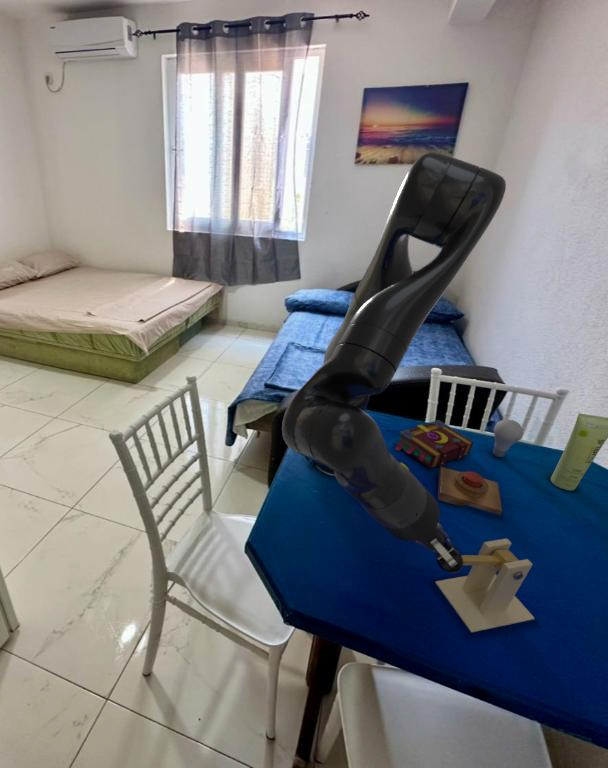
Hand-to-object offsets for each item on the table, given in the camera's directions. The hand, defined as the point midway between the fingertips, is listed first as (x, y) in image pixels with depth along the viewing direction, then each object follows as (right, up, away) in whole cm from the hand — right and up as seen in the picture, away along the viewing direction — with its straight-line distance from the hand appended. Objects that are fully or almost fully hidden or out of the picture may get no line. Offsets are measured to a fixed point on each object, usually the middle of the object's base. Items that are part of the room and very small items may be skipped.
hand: (449, 552), depth 60 cm
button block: (+22, 0, +33) cm, 40 cm away
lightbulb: (+38, +6, +46) cm, 60 cm away
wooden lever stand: (+11, -13, +9) cm, 19 cm away
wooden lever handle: (+5, -4, +3) cm, 7 cm away
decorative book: (+21, +7, +47) cm, 52 cm away
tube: (+48, +1, +37) cm, 61 cm away
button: (+22, +3, +31) cm, 39 cm away
